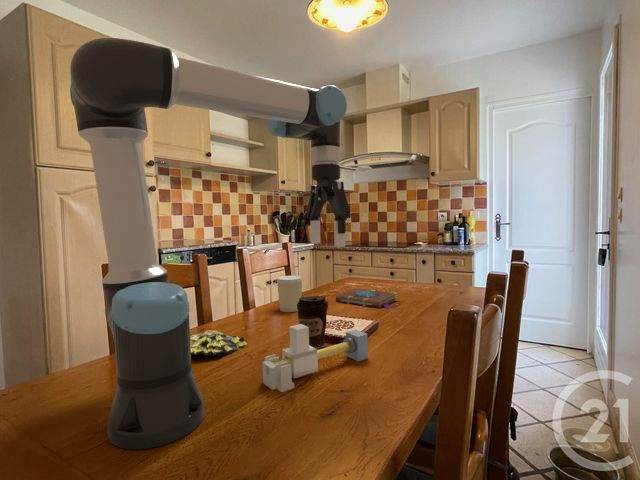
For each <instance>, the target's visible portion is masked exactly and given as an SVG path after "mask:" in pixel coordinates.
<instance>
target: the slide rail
mask: <svg viewBox="0 0 640 480" xmlns="http://www.w3.org/2000/svg"><path fill="white" fill-rule="evenodd" d="M368 335H369V334H368V333H366V332H363V331H361V330H358V329H352V330H349V331H345V338H343V340H342V342H340V343H337V344H333V345H330V346H327V347H322V348H318V349H317V359H318V360H321V359H324V358H328V357H331V356H334V355H336V354H341V353H343V352H345V356H346V357H347V358H350V359H353V360H354V361H356V362H361V361H364V360H367V359H369V345H368V344H369V336H368ZM291 368H292V360H291V358H288V359H285V360H282V359H281V360H280V356H276V354H275V353H273V354H270V355H267V356H264V361H262V383H263V384H264V385H265V386H266V387H268V388H269V389H270V390H271V391H274V390H278V391H279V392H281V393H284V392H288V391H289V390H292V389H295V382H293V380H292V378H293V377H292V374H291Z"/></svg>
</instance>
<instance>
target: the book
mask: <svg viewBox="0 0 640 480" xmlns="http://www.w3.org/2000/svg"><path fill="white" fill-rule="evenodd" d="M398 294H399V293H398V292H396V291H391V292H388V291H382V290H377V288H373V287H372V289H365V288H359V287H352V288H351V289H349V290H347V291H344V292H342V293H340V294H337V295H335V302H336V303H343V304H347V305H356V306H362V307H364V308H365V307H369V308H376V309H382V308H385V309H391V308H392V309H393V308H396V306H392V305H390V304H391V303H393V302H395V301H397V300H398V299H399V298H397V297H396V296H398Z"/></svg>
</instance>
